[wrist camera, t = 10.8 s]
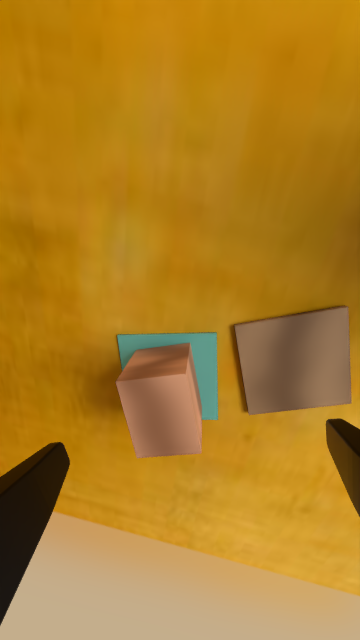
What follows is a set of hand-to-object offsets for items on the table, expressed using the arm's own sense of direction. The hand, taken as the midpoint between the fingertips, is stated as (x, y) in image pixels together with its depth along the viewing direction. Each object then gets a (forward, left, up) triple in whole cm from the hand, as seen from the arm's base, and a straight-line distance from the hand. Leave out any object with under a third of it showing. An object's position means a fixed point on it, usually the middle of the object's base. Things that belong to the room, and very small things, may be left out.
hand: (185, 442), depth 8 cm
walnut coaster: (-7, +4, -12) cm, 15 cm away
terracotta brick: (+3, +4, -12) cm, 13 cm away
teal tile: (+3, +4, -13) cm, 14 cm away
